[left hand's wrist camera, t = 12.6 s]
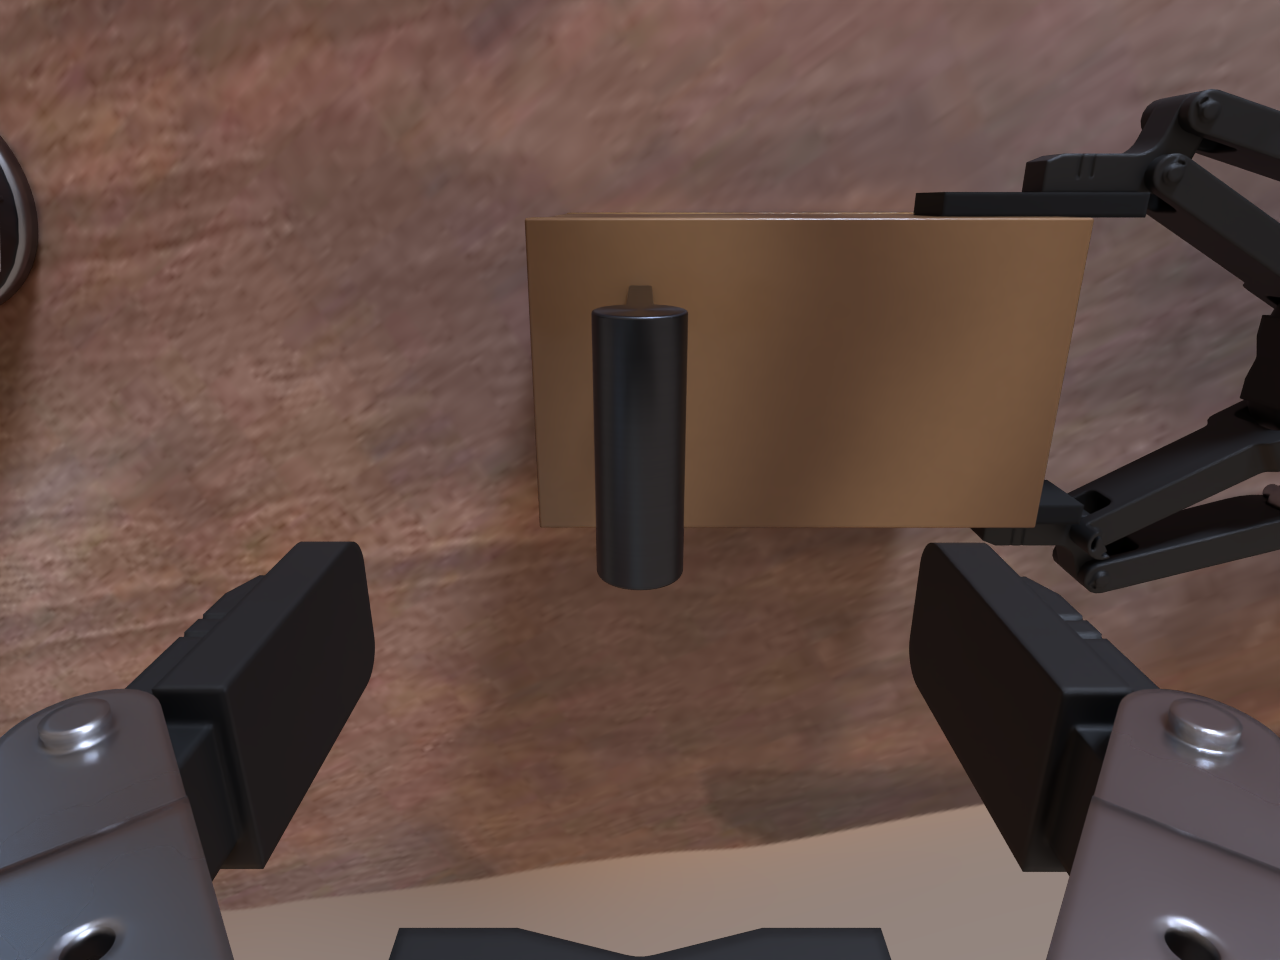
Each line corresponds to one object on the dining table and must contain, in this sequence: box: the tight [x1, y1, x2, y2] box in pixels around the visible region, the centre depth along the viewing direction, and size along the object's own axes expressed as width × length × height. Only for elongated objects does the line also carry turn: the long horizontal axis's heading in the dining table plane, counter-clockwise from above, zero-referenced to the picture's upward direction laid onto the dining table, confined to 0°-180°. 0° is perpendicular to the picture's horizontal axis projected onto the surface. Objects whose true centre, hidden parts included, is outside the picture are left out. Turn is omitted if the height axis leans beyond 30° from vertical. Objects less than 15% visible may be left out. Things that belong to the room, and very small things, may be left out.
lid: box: [525, 217, 1094, 590], centre depth 21 cm, size 17×10×9 cm, turn 90°
